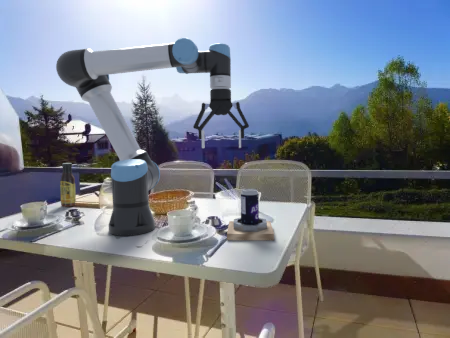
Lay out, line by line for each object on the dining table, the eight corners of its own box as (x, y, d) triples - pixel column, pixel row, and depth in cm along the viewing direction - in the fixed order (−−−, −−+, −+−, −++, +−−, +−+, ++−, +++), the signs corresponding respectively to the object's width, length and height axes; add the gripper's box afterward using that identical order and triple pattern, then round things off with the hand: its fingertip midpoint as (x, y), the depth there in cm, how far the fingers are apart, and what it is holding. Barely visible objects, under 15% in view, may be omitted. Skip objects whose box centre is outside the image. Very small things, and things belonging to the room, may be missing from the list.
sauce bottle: (57, 207, 148) (54, 163, 146) (68, 204, 154) (65, 162, 152) (69, 207, 146) (66, 163, 144) (79, 204, 152) (76, 162, 150)
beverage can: (252, 230, 100) (252, 192, 99) (237, 227, 103) (237, 190, 102) (262, 226, 104) (261, 189, 103) (247, 223, 108) (247, 188, 107)
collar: (233, 231, 99) (233, 225, 99) (234, 222, 109) (234, 216, 109) (267, 232, 98) (267, 225, 98) (265, 222, 109) (265, 216, 108)
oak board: (227, 240, 98) (227, 233, 97) (229, 226, 111) (229, 221, 111) (273, 240, 97) (273, 233, 96) (270, 227, 111) (270, 221, 110)
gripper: (184, 88, 115) (186, 148, 117) (255, 86, 113) (255, 147, 115) (188, 91, 122) (189, 147, 124) (254, 89, 120) (255, 146, 123)
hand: (221, 147), depth 120 cm, fingers open, 13 cm apart
